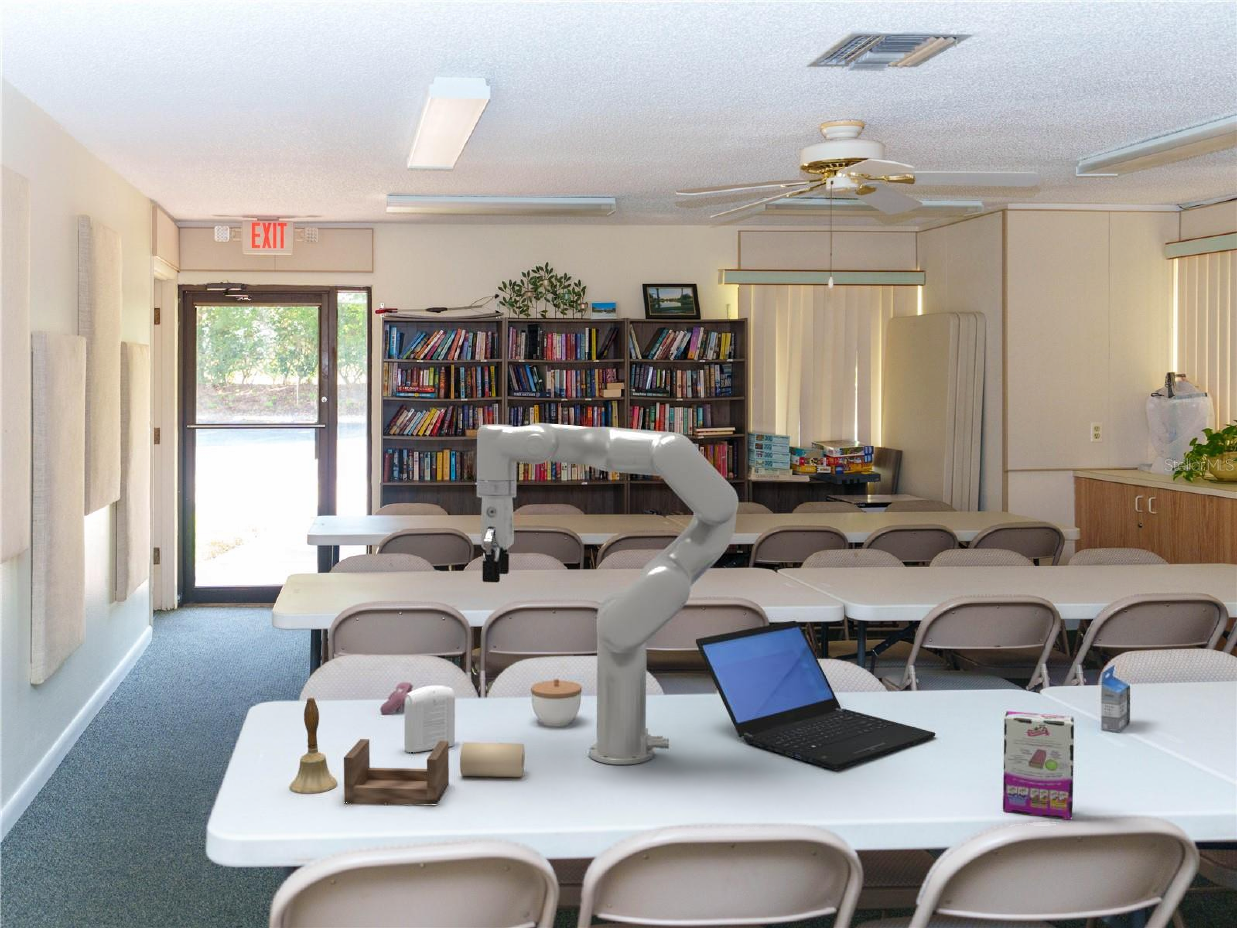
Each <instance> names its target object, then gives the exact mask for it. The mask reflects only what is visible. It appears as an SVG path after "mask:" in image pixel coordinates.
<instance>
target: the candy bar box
mask: <svg viewBox="0 0 1237 928" xmlns="http://www.w3.org/2000/svg"><path fill="white" fill-rule="evenodd" d="M1005 711H1006V712H1005V714H1004V719H1003V725H1004V726H1003V741H1004V742H1003V776H1002V777H1003V778H1002V779H1003V780H1002V781H1003V782H1002V783H1003V784H1002V785H1003V794H1002V811H1003V812H1005V813H1010V814H1011V813H1013V814H1020V815H1028V816H1034V817H1035V816H1036V817H1045V818H1054V819H1062V820H1070V819H1071V818H1072V819H1073V811H1074V810H1073V804H1074V764H1075V763H1074V758H1075V756H1074V752H1075V751H1074V749H1075V742H1074V741H1075V717H1074V716H1069V715H1068V716H1067V715H1057V714H1056V715H1055V714H1044V713H1036V712H1035V713H1033V712H1024V711H1023V712H1022V711H1010V710H1005ZM1072 819H1071V820H1072Z"/></svg>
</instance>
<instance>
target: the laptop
mask: <svg viewBox="0 0 1237 928" xmlns="http://www.w3.org/2000/svg"><path fill="white" fill-rule="evenodd" d="M695 643H696V644H695V645H696V646H697V649H698V651H699V653H700V655H701V657H702V659H703V662H704V663H705V665H706V668H707V670H708V672H709V675H710V676H711V679H712V681H713V683H714V685H715V687H716V690H717V692H718V694H719V696H720V698H721V701H722V702H723V705H724V708H725V709H726V711H727V713H728V715H729V717H730V720H731V722H732V724H733V726H734V729H735V731H736V734H737V736H738V737H739V738H743V741H744V742H746V743H748V744H751V745H753V746H757V747H759V748H762V749H765V750H766V749H767V750H769V751H772V752H776V753H779V754H781V755H784V756H788V757H791V758H795V759H798V760H801V761H804V762H808V763H811V764H815V765H818V766H821V767H824V768H827V769H831V770H834V771H838V770H841V769H844V768H846V767H850V766H852V765H854V764H857V763H861V762H863V761H867V760H869V759H872V758H876V757H878V756H879V757H880V756H883V755H885V754H888V753H891V752H894V751H898V750H900V749H903V748H907V747H909V746H913V745H915V744H918V743H921V742H925V741H928V740H930V739H932V738H934V737H936V732H934V731H930V730H926V729H922V728H919V727H916V726H911V725H909V724H908V725H907V724H904V723H900V722H897V721H893V720H888V719H885V718H881V717H877V716H873V715H869V714H865V713H860V712H857V711H854V710H850V709H847V708H842V707H841V705H840V703H839V701H838V698H837V696H836V694H835V692H834V691H833V688H832V686H831V684H830V682H829V680H828V678H827V676H826V674H825V672H824V670H823V668H822V666H821V663H820V662H819V660H818V658H817V655H816V653H815V652H814V650H813V647H812V645H811V644H810V642H809V639H808V638H807V636H806V634H805V632H804V630H803V629H802V626H801V625H800V624H799V623H798V622H797V621H796V620H791V621H790V620H789V621H785V622H779V623H774V624H768V625H767V624H766V625H762V626H758V627H752V628H748V629H743V630H742V629H741V630H737V631H733V632H732V631H731V632H725V633H720V634H716V635H710V636H706V637H704V636H703V637H700V638H696V639H695Z"/></svg>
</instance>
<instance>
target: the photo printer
mask: <svg viewBox="0 0 1237 928" xmlns="http://www.w3.org/2000/svg"><path fill="white" fill-rule="evenodd" d="M455 704H456V697H455V691H454V690H453V688H451V687H449V686H445V685H427V686H423V687H419V688H416V689H414V690H413V689H412V691H411V692H409V693H407V694H406V696H405V705H404V751H405V752H406V753H409V752H410V753H411V752H413V753H419V752H425V751H430V750H432V751H433V750H434V748H435V747H436V745H437V744H438V743H439V741H449V747H453V746H455V743H456V742H455V741H456V738H455V735H456V734H455V733H456V731H455V730H456V729H455V726H456V724H455V723H456V722H455V721H456V720H455V719H456V705H455ZM410 753H409V754H410ZM411 754H412V753H411Z"/></svg>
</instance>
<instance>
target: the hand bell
mask: <svg viewBox="0 0 1237 928" xmlns="http://www.w3.org/2000/svg"><path fill="white" fill-rule="evenodd" d="M306 699H307V700H306V704H305V707H304V710H303V711H304V713H303V719H304V725H305V729H306V732H307V753H305V754H303V755H302V756H301V757H300V758H299V759H300V761H299V768H298V772H297V774H296V777H295V778H294V779H293V780H292V782H291V783H290V784H289V789H290V791H292V792H293V793H295V794H296V793H297V794H302V795H303V794H304V795H312V794H313V795H314V794H315V793H316V794H321V793H326V792H329V791H331V790H333V789H335V788H336V787H337V786H338V781H337V779H336V778H335V777H334V776H333V775H332V774H331V773H330V770H329V767H328V763H327V756H326V755H325V754H324V753H321V752H320V751H319V748H318V737H317V732H318V727H319V722H320V713H319V712H320V711H319V708H318V705H317V703H316V699H315V698H314V697H308V698H306Z"/></svg>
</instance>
